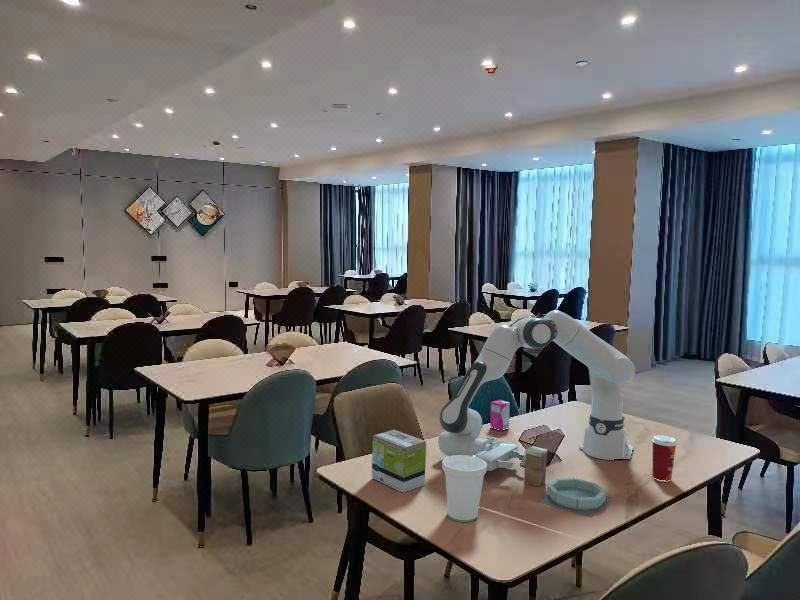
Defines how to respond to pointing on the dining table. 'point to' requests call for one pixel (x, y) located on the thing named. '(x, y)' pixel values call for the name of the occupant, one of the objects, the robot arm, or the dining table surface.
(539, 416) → the dining table surface
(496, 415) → the supplement box
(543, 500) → the place mat
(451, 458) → the cup
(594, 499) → the bowl
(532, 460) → the lidded brown carton
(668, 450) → the paper cup
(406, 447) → the tea box
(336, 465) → the dining table surface
